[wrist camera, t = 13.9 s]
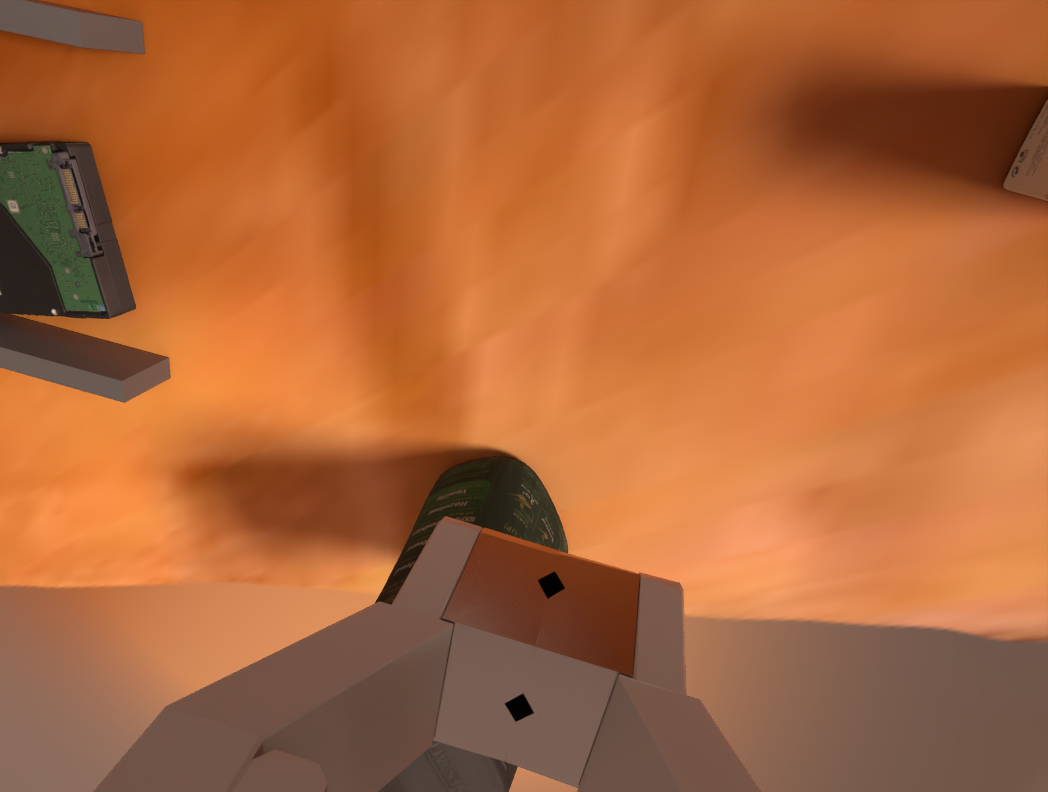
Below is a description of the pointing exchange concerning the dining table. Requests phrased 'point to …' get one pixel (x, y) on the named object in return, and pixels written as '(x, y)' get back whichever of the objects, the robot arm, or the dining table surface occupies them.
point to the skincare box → (1032, 162)
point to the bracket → (44, 347)
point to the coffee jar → (501, 505)
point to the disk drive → (58, 235)
